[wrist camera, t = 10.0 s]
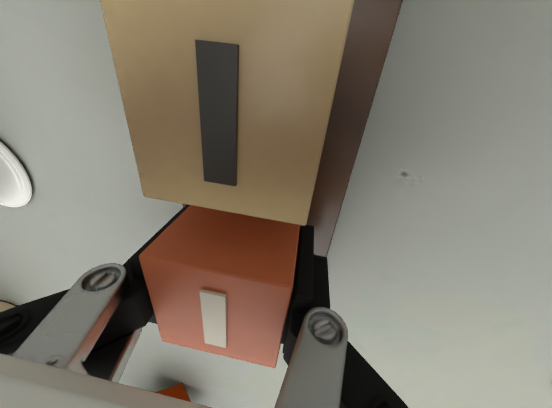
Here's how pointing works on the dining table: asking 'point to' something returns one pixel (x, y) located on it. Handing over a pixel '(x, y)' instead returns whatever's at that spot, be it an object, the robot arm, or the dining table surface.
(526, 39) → the dining table surface
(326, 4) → the far letter i
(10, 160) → the candle
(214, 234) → the orange striped cube
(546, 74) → the dining table surface
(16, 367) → the robot arm
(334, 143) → the far board
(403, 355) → the dining table surface
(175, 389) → the potion bottle
